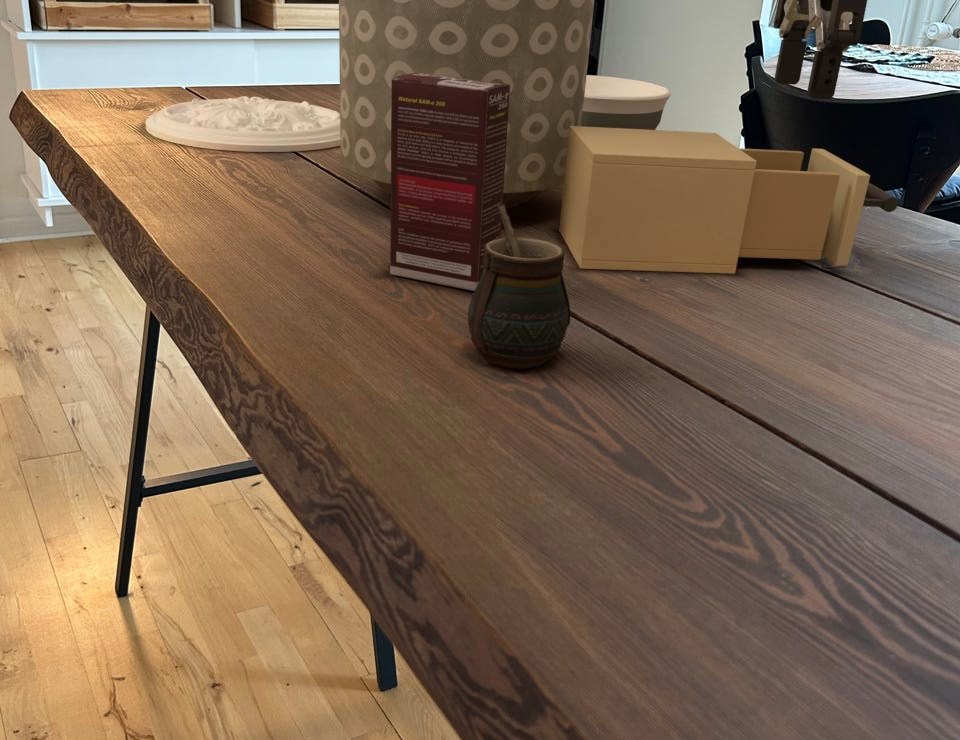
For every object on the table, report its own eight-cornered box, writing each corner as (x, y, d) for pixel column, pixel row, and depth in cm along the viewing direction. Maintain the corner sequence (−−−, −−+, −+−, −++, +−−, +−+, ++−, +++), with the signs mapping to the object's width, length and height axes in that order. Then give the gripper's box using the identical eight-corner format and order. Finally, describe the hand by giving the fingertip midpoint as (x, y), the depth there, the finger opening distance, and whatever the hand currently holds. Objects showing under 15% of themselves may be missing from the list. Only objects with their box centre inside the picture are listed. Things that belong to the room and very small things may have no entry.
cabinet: (698, 235, 106) (716, 132, 101) (735, 273, 95) (757, 160, 90) (558, 230, 104) (569, 125, 99) (580, 268, 94) (593, 153, 88)
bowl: (497, 142, 141) (501, 77, 137) (590, 131, 152) (596, 71, 148) (597, 170, 130) (605, 101, 125) (689, 156, 141) (700, 92, 136)
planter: (493, 250, 97) (512, -38, 84) (291, 201, 108) (282, -61, 95) (611, 203, 115) (641, -39, 103) (429, 165, 126) (436, -58, 114)
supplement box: (500, 279, 89) (514, 83, 81) (476, 294, 86) (489, 89, 77) (412, 261, 92) (417, 70, 84) (386, 275, 89) (388, 76, 80)
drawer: (848, 234, 106) (868, 150, 102) (895, 268, 97) (920, 177, 93) (677, 227, 105) (691, 142, 100) (708, 261, 95) (725, 168, 91)
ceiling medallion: (262, 162, 122) (261, 134, 121) (99, 126, 134) (96, 100, 132) (399, 132, 143) (400, 108, 141) (248, 103, 155) (246, 80, 153)
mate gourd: (505, 385, 70) (516, 238, 65) (442, 348, 75) (448, 209, 70) (585, 366, 74) (602, 225, 68) (520, 332, 79) (531, 199, 73)
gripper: (926, -119, 79) (874, 105, 88) (853, -116, 91) (813, 80, 100) (832, -125, 78) (789, 102, 87) (771, -122, 91) (738, 77, 99)
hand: (802, 90), depth 93 cm, fingers open, 8 cm apart
